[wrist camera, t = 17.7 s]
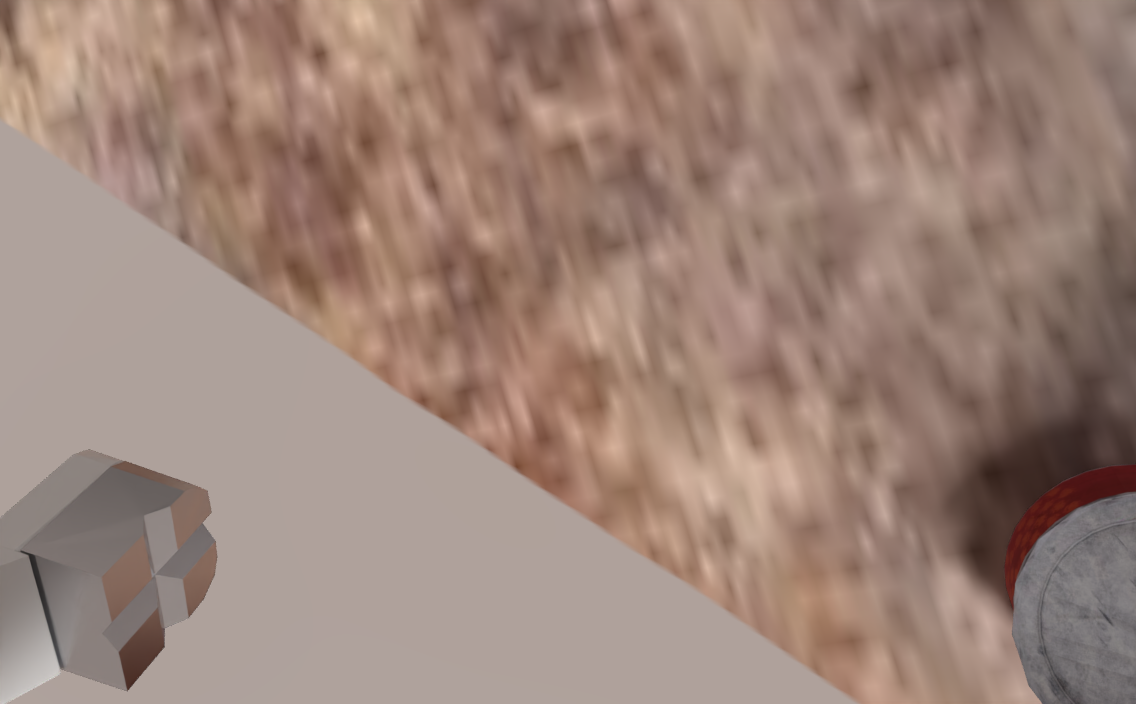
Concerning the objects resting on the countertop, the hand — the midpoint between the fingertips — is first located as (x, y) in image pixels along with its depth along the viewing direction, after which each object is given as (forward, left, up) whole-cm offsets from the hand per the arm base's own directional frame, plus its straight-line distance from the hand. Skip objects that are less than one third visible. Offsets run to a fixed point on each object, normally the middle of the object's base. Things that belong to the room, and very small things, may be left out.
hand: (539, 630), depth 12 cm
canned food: (-6, +22, -36) cm, 42 cm away
